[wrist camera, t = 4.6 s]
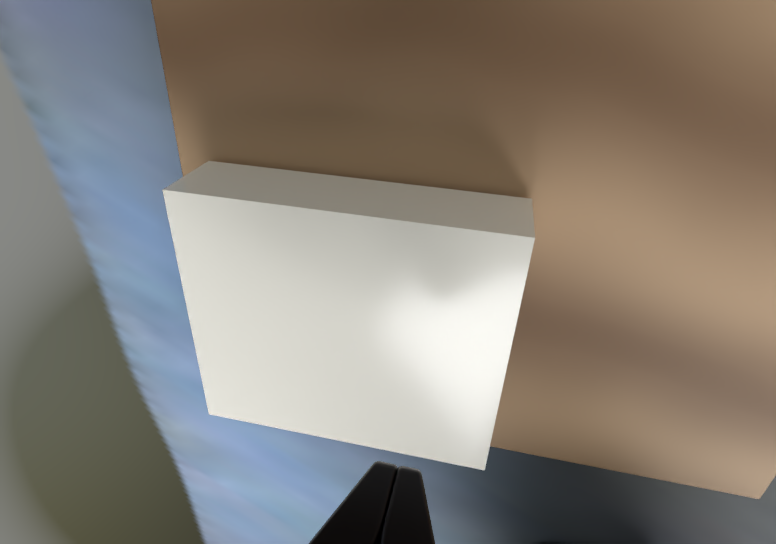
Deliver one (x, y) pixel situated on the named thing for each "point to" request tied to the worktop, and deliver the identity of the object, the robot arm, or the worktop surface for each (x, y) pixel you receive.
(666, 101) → the board
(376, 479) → the robot arm
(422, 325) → the tile
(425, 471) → the worktop surface
